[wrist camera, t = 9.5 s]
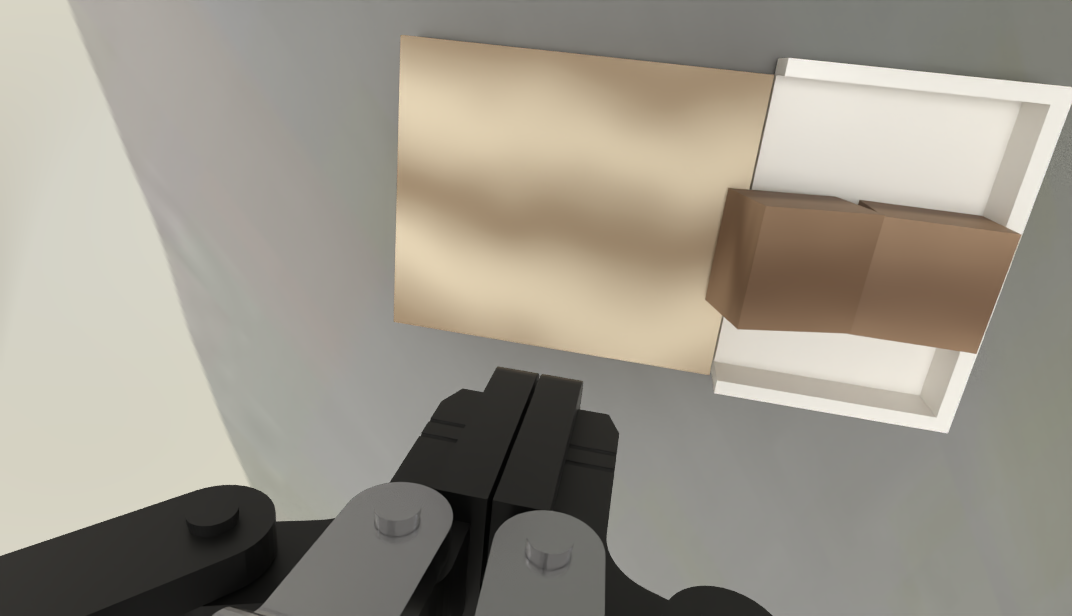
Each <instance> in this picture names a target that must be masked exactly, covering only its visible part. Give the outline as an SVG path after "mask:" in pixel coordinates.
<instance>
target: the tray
mask: <svg viewBox="0 0 1072 616" xmlns="http://www.w3.org/2000/svg"><path fill="white" fill-rule="evenodd" d="M1071 104H1072V87H1065V86H1056V85H1046V84H1036V83H1027V82H1017V81H1007V80H998V79H988V78H979V77H969V76H959V75H950V74H940V73H930V72H921V71H911V70H901V69H892V68H882V67H872V66H863V65H853V64H843V63H834V62H824V61H814V60H805V59H795V58H778V61H777V66H776V71H775V75H774V80H773V84H772V89H771V94H770V98H769V103H768V107H767V112H766V117H765V121H764V126H763V130H762V135H761V140H760V144H759V149H758V154H757V158H756V163H755V167H754V172H753V177H752V181H751V186H750V190H760V191H773V192H785V193H798V194H810V195H822V196H835V197H838V198H841V199H844V200H846V201H849V202H852V203H854V204H857V205H858V203H859V200H865V201H873V202H880V203H888V204H896V205H903V206H911V207H919V208H926V209H934V210H942V211H949V212H957V213H965V214H972V215H980V216H984V217H986V218H988V219H990V220H992V221H994V222H996V223H998V224H1000V225H1002V226H1005V227H1007V228H1009V229H1011V230H1013V231H1015V232H1017V233H1019V234H1021V237H1022V234H1023V231H1024V229H1025V226H1026V223H1027V221H1028V218H1029V215H1030V213H1031V210H1032V207H1033V205H1034V202H1035V199H1036V197H1037V194H1038V191H1039V189H1040V186H1041V183H1042V181H1043V178H1044V175H1045V173H1046V170H1047V167H1048V165H1049V162H1050V159H1051V157H1052V154H1053V151H1054V149H1055V146H1056V143H1057V141H1058V138H1059V135H1060V133H1061V130H1062V127H1063V125H1064V122H1065V119H1066V117H1067V114H1068V112H1069V109H1070V106H1071ZM1020 239H1021V238H1020ZM1019 242H1020V240H1019ZM1018 245H1019V243H1018ZM1017 247H1018V246H1017ZM1016 250H1017V248H1016ZM1015 253H1016V251H1015ZM1014 255H1015V254H1014ZM1013 258H1014V256H1013ZM1012 261H1013V259H1012ZM1011 263H1012V262H1011ZM1010 266H1011V264H1010ZM1009 269H1010V267H1009ZM1009 269H1008V271H1009ZM1007 274H1008V272H1007ZM1006 277H1007V275H1006ZM1006 277H1005V279H1006ZM1004 282H1005V280H1004ZM1003 285H1004V283H1003ZM1003 285H1002V287H1003ZM1001 290H1002V288H1001ZM1000 293H1001V291H1000ZM1000 293H999V295H1000ZM998 298H999V296H998ZM997 301H998V299H997ZM997 301H996V303H997ZM995 306H996V304H995ZM995 306H994V309H995ZM994 309H993V311H994ZM992 314H993V312H992ZM992 314H991V317H992ZM991 317H990V319H991ZM989 322H990V320H989ZM989 322H988V325H989ZM988 325H987V327H988ZM986 330H987V328H986ZM986 330H985V333H986ZM985 333H984V335H985ZM984 335H983V338H984ZM983 338H982V341H983ZM982 341H981V343H982ZM981 343H980V346H981ZM980 346H979V349H980ZM979 349H978V351H979ZM978 351H977V354H978ZM977 354H973V353H967V352H961V351H954V350H948V349H941V348H935V347H928V346H922V345H915V344H909V343H902V342H896V341H889V340H883V339H876V338H870V337H864V336H857V335H851V334H845V333H819V332H794V331H768V330H742V329H737V328H735V327H734V326H733V325H732V324H731V323H730V322H729V321H728V320H727V319H726V318H725V317H723V316H722V319H721V324H720V329H719V333H718V338H717V342H716V347H715V352H714V356H713V361H712V365H711V374H712V381H713V388H714V393H716V394H722V395H728V396H734V397H739V398H745V399H751V400H757V401H763V402H768V403H774V404H780V405H786V406H792V407H797V408H803V409H809V410H815V411H821V412H826V413H832V414H838V415H844V416H850V417H855V418H861V419H867V420H873V421H879V422H885V423H890V424H896V425H902V426H908V427H914V428H919V429H925V430H931V431H937V432H943V433H948V431H949V429H950V426H951V423H952V421H953V418H954V415H955V413H956V410H957V407H958V405H959V402H960V399H961V397H962V394H963V391H964V389H965V386H966V383H967V381H968V378H969V375H970V373H971V370H972V367H973V365H974V362H975V359H976V357H977Z"/></svg>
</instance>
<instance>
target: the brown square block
mask: <svg viewBox="0 0 1072 616" xmlns="http://www.w3.org/2000/svg"><path fill="white" fill-rule="evenodd" d="M884 217H885V215H884V214H881V213H878V212H876V211H873V210H870V209H868V208H865V207H862V206H860V205H857V204H854V203H852V202H849V201H846V200H844V199H841V198H838V197H835V196H822V195H810V194H798V193H785V192H773V191H760V190H748V189H735V188H728V192H727V197H726V202H725V207H724V211H723V216H722V221H721V226H720V231H719V235H718V240H717V245H716V250H715V254H714V259H713V264H712V269H711V274H710V278H709V283H708V288H707V293H706V298H705V300H706V301H707V302H708V303H709V304H710V305H711V306H713V307H714V308H715V309H716V310H717V311H718V312H719V313H720V314H721V315H722V316H723V317H725V318H726V319H727V320H728V321H729V322H730V323H731V324H732V325H733V326H734V327H735V328H737V329H742V330H768V331H794V332H819V333H845V334H850V331H851V328H852V325H853V321H854V318H855V315H856V311H857V308H858V305H859V301H860V298H861V294H862V291H863V288H864V284H865V281H866V278H867V274H868V271H869V268H870V264H871V261H872V257H873V254H874V251H875V247H876V244H877V241H878V237H879V234H880V231H881V227H882V224H883V220H884Z"/></svg>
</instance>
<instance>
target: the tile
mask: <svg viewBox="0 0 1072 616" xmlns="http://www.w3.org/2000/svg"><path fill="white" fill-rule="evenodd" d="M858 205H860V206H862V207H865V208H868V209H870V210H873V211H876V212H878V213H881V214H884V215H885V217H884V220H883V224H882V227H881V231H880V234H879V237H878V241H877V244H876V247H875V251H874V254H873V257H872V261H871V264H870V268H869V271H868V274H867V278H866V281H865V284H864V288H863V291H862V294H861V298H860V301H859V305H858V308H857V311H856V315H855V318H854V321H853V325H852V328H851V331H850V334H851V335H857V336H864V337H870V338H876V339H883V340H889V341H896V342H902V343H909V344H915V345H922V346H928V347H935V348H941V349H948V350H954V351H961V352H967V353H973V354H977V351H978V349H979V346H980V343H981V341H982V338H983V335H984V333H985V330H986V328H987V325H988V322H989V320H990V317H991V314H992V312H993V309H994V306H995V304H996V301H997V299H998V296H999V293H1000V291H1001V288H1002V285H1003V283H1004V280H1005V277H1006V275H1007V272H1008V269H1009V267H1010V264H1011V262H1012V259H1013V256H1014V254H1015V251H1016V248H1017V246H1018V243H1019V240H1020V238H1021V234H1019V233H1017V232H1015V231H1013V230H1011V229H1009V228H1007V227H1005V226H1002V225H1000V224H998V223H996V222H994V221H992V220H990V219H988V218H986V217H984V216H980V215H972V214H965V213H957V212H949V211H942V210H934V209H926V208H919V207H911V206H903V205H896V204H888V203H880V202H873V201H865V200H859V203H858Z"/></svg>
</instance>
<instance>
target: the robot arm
mask: <svg viewBox="0 0 1072 616" xmlns="http://www.w3.org/2000/svg"><path fill="white" fill-rule="evenodd" d="M582 389H583V381H579V380H574V379H568V378H562V377H556V376H551V375H545V374H542V375H541V376H540V379H539V374H538V373H533V372H527V371H521V370H515V369H510V368H504V367H497V368H496V370H495V371H494V373H493V375H492V377H491V379H490V381H489V383H488V384H487V386H486V388H485V390H484V392H479V391H473V390H467V389H461V390H460V391H458V392H456V393H455V394H453V395H451V396H450V397H448V398H446V399H445V400H443V401H442V402H441V403H440V405H439V406H438V408H437V409H436V411H435V413H434V414H433V416H432V417H431V420H430V422H428V423H427V425H426V427H425V428H424V430H423V431H422V434H421V436H419V438H418V439H417V441H416V442H415V444H414V445H413V447H412V448H411V450H410V452H409V453H408V455H407V456H406V458H405V459H404V461H403V463H402V464H401V466H400V467H399V469H398V470H397V472H396V473H395V475H394V477H393V478H392V480H391V481H390V483H385V484H381V485H377V486H374V487H371V488H368V489H366V490H364V491H363V492H361V493H359V494H358V495H356V496H355V497H353V498H352V499H351V500H350V501H349V502H348V504H347V505H346V506H345V507H344V508H343V509H342V511H341V512H340V513H339V514H338V515H337V517H336V518H333V519H327V520H311V521H280V522H276V513H275V507H274V504H273V502H272V500H271V499H270V498H269V497H268V496H267V495H266V494H264V493H263V492H261V491H259V490H256V489H254V488H250V487H246V486H239V485H221V486H213V487H208V488H204V489H200V490H196V491H194V492H190V493H188V494H184V495H181V496H179V497H175V498H172V499H169V500H167V501H164V502H160V503H158V504H154V505H152V506H149V507H146V508H143V509H140V510H137V511H134V512H131V513H128V514H125V515H122V516H119V517H116V518H113V519H110V520H107V521H104V522H101V523H98V524H95V525H92V526H89V527H86V528H83V529H80V530H77V531H74V532H71V533H68V534H65V535H62V536H59V537H56V538H53V539H50V540H47V541H44V542H41V543H38V544H35V545H32V546H29V547H26V548H23V549H20V550H17V551H14V552H11V553H8V554H5V555H2V556H0V616H772V615H771V614H770V613H769V612H768V611H767V610H766V609H764V608H763V607H762V606H760V605H759V604H758V603H756V602H755V601H753V600H751V599H750V598H748V597H746V596H744V595H742V594H739V593H737V592H735V591H732V590H728V589H725V588H720V587H715V586H696V587H691V588H687V589H684V590H682V591H680V592H678V593H676V594H675V595H674V596H672V597H671V598H670V600H667V599H665V598H663V597H661V596H659V595H657V594H655V593H653V592H651V591H648V590H647V589H645V588H643V587H641V586H639V585H638V584H636V583H635V582H634V581H632V580H631V579H629V578H628V577H627V576H626V575H625V574H624V573H623V572H622V571H621V570H620V569H619V568H618V566H617V565H616V564H615V562H614V561H613V559H612V558H611V556H610V553H609V551H608V547H607V542H606V535H607V527H608V519H609V510H610V502H611V494H612V486H613V478H614V470H615V462H616V454H617V446H618V438H619V433H618V431H617V429H616V427H615V425H614V423H613V422H612V420H611V418H610V416H609V415H607V414H602V413H596V412H591V411H585V410H580V404H581V397H582Z"/></svg>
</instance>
